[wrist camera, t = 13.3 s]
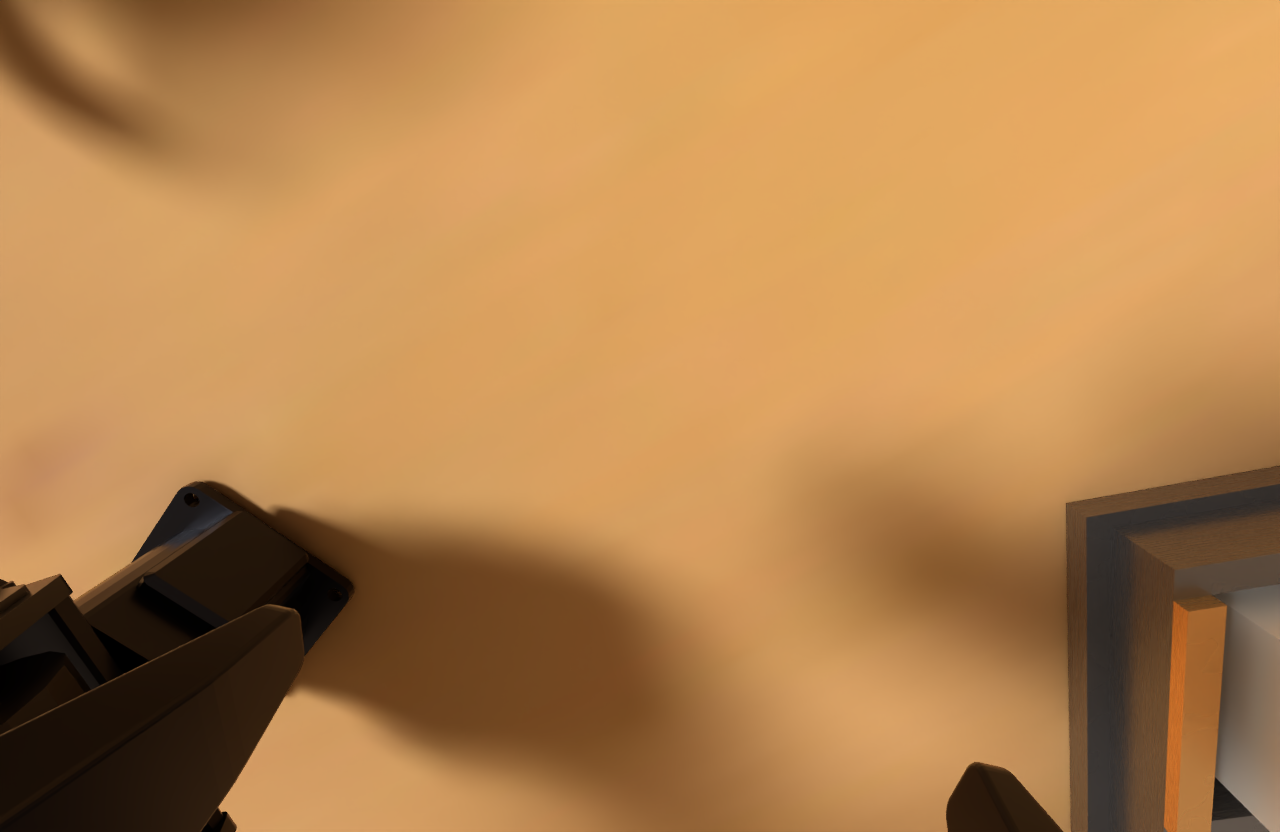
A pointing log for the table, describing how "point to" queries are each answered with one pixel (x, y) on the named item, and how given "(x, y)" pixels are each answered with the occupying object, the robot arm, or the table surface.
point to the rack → (1159, 647)
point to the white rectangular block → (1251, 702)
